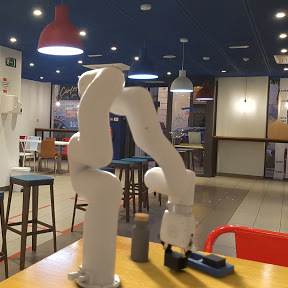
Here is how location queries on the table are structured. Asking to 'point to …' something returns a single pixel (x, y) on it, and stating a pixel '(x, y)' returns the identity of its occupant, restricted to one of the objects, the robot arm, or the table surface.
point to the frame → (206, 268)
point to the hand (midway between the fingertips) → (175, 264)
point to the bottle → (140, 238)
